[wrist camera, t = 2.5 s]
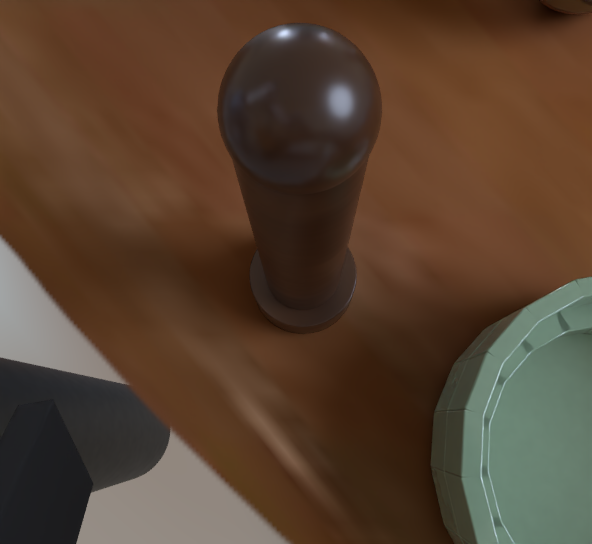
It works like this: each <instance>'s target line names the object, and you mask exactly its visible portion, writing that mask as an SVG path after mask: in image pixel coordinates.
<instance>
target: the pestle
mask: <svg viewBox="0 0 592 544" xmlns="http://www.w3.org/2000/svg"><path fill="white" fill-rule="evenodd" d="M217 113H218V123H219V128H220V132H221V136H222V139H223V141H224V144H225V146H226V149H227V150H228V152H229V154H230V156H231V157H232V160H233V163H234V167H235V170H236V174H237V178H238V181H239V185H240V188H241V192H242V196H243V199H244V203H245V206H246V210H247V213H248V217H249V221H250V224H251V228H252V231H253V235H254V238H255V242H256V246H257V250H256V252H255V254H254V256H253V259H252V262H251V267H250V285H251V289H252V292H253V295H254V297H255V300H256V302H257V305H258V307H259V308H260V310H261V312H262V313H263V314H264V316H265V317H266V318H267V319H268V320H269V321H270V322H272V323H273V324H274V325H276V326H277V327H279V328H281V329H283V330H286V331H289V332H293V333H301V334H306V333H314V332H318V331H321V330H323V329H326V328H327V327H329V326H331V325H332V324H334V323H335V322H336V321H337V320H338V319H339V318H340V317H341V316H342V315H343V314H344V313H345V311H346V309H347V308H348V306H349V303H350V301H351V298H352V295H353V293H354V289H355V286H356V279H357V276H356V265H355V262H354V258H353V256H352V254H351V252H350V250H349V248H348V243H349V239H350V234H351V230H352V226H353V222H354V217H355V213H356V209H357V205H358V200H359V196H360V192H361V188H362V183H363V179H364V175H365V171H366V166H367V162H368V158H369V154H370V153H371V151H372V149H373V147H374V144H375V142H376V140H377V137H378V133H379V130H380V124H381V117H382V100H381V93H380V87H379V84H378V81H377V78H376V75H375V73H374V71H373V69H372V67H371V65H370V63H369V62H368V60H367V59H366V57H365V56H364V54H363V53H362V52H361V51H360V50H359V49H358V47H357V46H356V45H354V44H353V43H352V42H351V41H350V40H348V39H347V38H346V37H344V36H343V35H341V34H340V33H338V32H336V31H334V30H332V29H329V28H327V27H324V26H320V25H316V24H309V23H290V24H284V25H280V26H276V27H273V28H270V29H268V30H266V31H264V32H262V33H260V34H258V35H257V36H255V37H254V38H252V39H251V40H250V41H249V42H248V43H246V44H245V45H244V46H243V47H242V48H241V49H240V50H239V51H238V53H237V54H236V55H235V57H234V58H233V59H232V61H231V63H230V64H229V66H228V68H227V70H226V72H225V74H224V77H223V79H222V82H221V86H220V90H219V95H218V107H217Z"/></svg>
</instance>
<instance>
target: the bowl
mask: <svg viewBox="0 0 592 544" xmlns="http://www.w3.org/2000/svg"><path fill="white" fill-rule="evenodd" d="M431 471H432V476H433V480H434V484H435V489H436V493H437V497H438V501H439V506H440V510H441V514H442V519H443V523H444V525H445V528H446V529H447V531H448V533H449V535H450V537H451V538H452V540H453V542H454V544H592V277H586V278H581V279H576V280H574V281H571V282H569V283H567V284H565V285H563V286H561V287H559V288H558V289H556V290H554V291H552V292H550V293H548V294H546V295H544V296H543V297H541V298H539V299H537V300H535V301H533V302H531V303H530V304H528V305H526V306H524V307H522V308H520V309H519V310H517V311H515V312H513V313H511V314H510V315H508V316H506V317H504V318H502V319H501V320H499V321H497V322H495V323H493V324H492V325H490V326H488V327H486V328H485V329H484V330H483V331H482V332H481V333H480V335H479V336H478V337H477V338H476V339H475V340H474V341H473V343H472V344H471V345H470V346H469V347H468V348H467V349H466V351H465V352H464V353H463V354H462V355H461V356H460V357H459V358H458V360H457V361H456V362H455V363H454V365H453V366H452V369H451V371H450V374H449V376H448V379H447V381H446V384H445V386H444V389H443V391H442V394H441V396H440V399H439V401H438V404H437V406H436V409H435V412H434V421H433V436H432V451H431Z"/></svg>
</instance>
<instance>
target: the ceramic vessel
mask: <svg viewBox="0 0 592 544" xmlns="http://www.w3.org/2000/svg"><path fill="white" fill-rule="evenodd" d="M539 1H540V2H542V3H543V4H544V5H545V6H547V7H549V8H550V9H552V10H555V11H557V12H561V13H566V14H588V13H592V0H539Z"/></svg>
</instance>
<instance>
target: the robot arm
mask: <svg viewBox="0 0 592 544" xmlns="http://www.w3.org/2000/svg"><path fill="white" fill-rule="evenodd" d="M92 486H93V482H92V480H91V478H90V476H89V474H88V471H87V469H86V467H85V465H84V463H83V461H82V459H81V457H80V455H79V453H78V451H77V448H76V446H75V444H74V442H73V440H72V438H71V436H70V434H69V432H68V430H67V428H66V426H65V423H64V421H63V419H62V417H61V415H60V413H59V411H58V409H57V407H56V405H55V403H54V401H53V399H52V400H46V401H40V402H35V403H29V404H23V405H18V406H17V408H16V410H15V412H14V414H13V416H12V418H11V420H10V422H9V424H8V426H7V427H6V429H5V431H4V433H3V435H2V437H1V439H0V544H76V542H77V539H78V535H79V532H80V528H81V525H82V521H83V518H84V514H85V511H86V507H87V503H88V500H89V496H90V493H91V490H92Z"/></svg>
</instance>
